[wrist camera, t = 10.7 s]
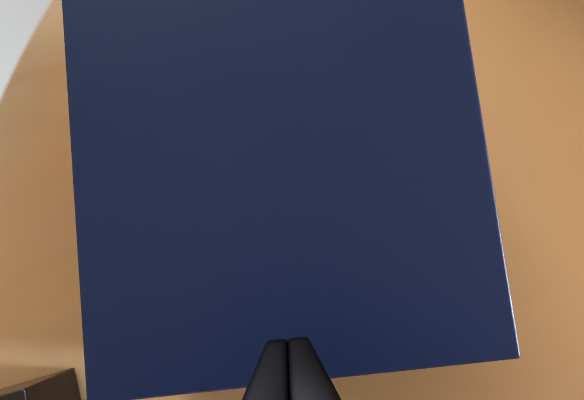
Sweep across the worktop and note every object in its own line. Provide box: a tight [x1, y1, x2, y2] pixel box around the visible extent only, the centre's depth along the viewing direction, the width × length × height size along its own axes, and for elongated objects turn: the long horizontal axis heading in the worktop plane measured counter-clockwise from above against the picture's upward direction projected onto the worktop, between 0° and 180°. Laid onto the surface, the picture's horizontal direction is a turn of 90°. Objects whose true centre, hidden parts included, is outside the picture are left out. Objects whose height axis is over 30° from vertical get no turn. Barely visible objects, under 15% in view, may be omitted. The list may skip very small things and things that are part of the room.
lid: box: [62, 0, 520, 400], centre depth 14 cm, size 13×13×1 cm
